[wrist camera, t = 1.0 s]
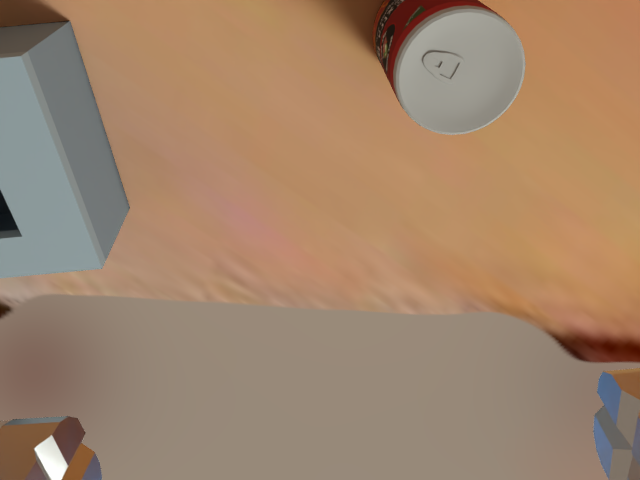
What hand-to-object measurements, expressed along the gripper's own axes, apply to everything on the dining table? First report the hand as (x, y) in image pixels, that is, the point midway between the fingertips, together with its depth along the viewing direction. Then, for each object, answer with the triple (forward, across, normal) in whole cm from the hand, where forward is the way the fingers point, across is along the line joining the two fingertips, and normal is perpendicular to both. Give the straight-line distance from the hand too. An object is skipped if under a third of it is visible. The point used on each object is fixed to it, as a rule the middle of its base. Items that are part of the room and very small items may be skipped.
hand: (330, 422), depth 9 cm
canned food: (+38, -6, 0) cm, 39 cm away
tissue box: (+36, +27, +2) cm, 45 cm away
